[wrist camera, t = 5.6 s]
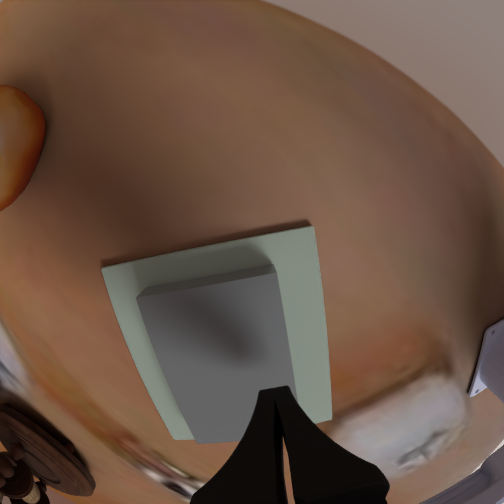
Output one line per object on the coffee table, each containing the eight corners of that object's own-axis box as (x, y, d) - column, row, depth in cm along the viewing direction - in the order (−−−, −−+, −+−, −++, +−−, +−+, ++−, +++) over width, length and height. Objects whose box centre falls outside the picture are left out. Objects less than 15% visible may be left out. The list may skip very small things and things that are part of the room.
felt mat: (311, 225, 15) (313, 226, 14) (330, 415, 17) (332, 419, 17) (104, 266, 15) (101, 268, 14) (174, 436, 18) (174, 439, 17)
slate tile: (276, 272, 13) (135, 297, 13) (302, 431, 15) (197, 443, 15) (273, 263, 14) (146, 286, 15) (298, 413, 17) (200, 426, 17)
